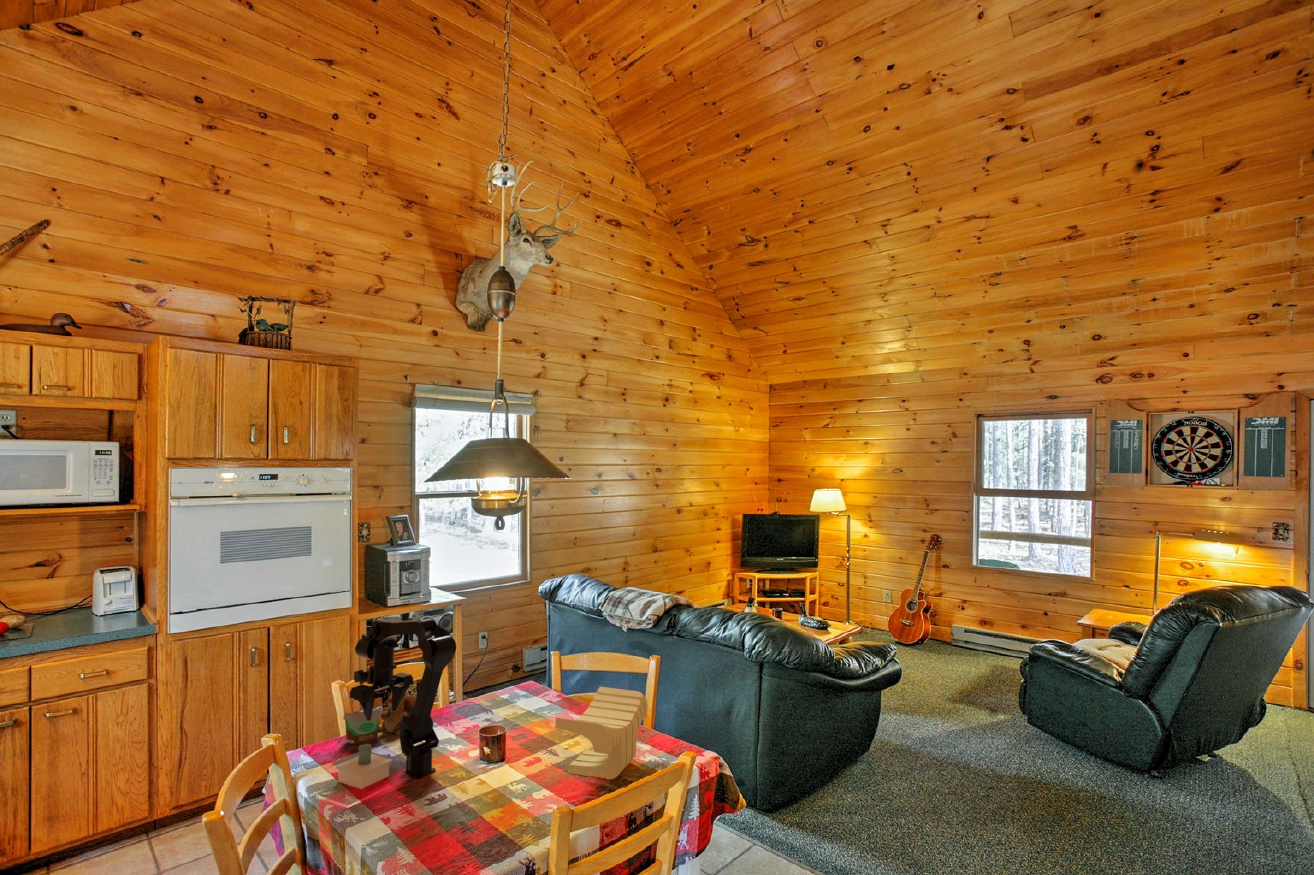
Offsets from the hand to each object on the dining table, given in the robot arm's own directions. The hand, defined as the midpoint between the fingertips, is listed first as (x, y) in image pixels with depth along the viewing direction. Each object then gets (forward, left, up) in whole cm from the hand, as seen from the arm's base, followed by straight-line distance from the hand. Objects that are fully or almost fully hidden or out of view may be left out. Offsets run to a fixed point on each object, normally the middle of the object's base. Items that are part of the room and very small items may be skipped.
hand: (381, 715), depth 202 cm
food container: (+13, -6, -12) cm, 19 cm away
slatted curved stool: (-61, -26, -12) cm, 67 cm away
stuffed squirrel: (+13, -19, -12) cm, 26 cm away
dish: (-9, +13, -12) cm, 20 cm away
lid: (-9, +13, -8) cm, 18 cm away
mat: (+2, +5, -12) cm, 13 cm away
